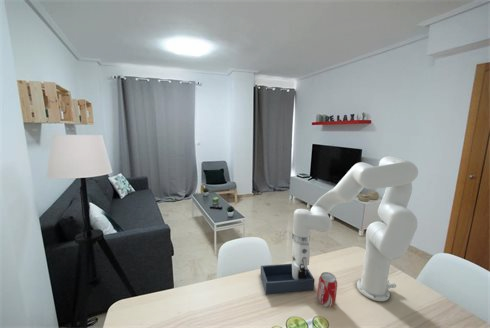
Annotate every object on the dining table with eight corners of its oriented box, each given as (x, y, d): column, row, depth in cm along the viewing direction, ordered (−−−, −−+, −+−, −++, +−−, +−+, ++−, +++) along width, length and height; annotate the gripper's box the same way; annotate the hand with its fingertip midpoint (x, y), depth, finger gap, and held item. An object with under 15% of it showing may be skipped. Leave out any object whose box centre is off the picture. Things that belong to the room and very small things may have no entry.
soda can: (313, 298, 93) (315, 273, 91) (326, 293, 96) (328, 269, 94) (325, 311, 87) (328, 285, 85) (338, 306, 90) (342, 280, 87)
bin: (303, 272, 109) (304, 262, 108) (313, 290, 98) (314, 279, 97) (260, 276, 106) (260, 265, 105) (265, 294, 95) (266, 283, 94)
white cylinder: (306, 283, 98) (307, 269, 97) (291, 281, 100) (291, 267, 98) (305, 273, 105) (306, 259, 103) (291, 270, 106) (291, 257, 105)
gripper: (317, 247, 90) (314, 285, 94) (301, 227, 107) (299, 260, 111) (300, 248, 89) (297, 287, 93) (286, 227, 106) (284, 261, 110)
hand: (298, 272), depth 102 cm, fingers closed on white cylinder, 6 cm apart
